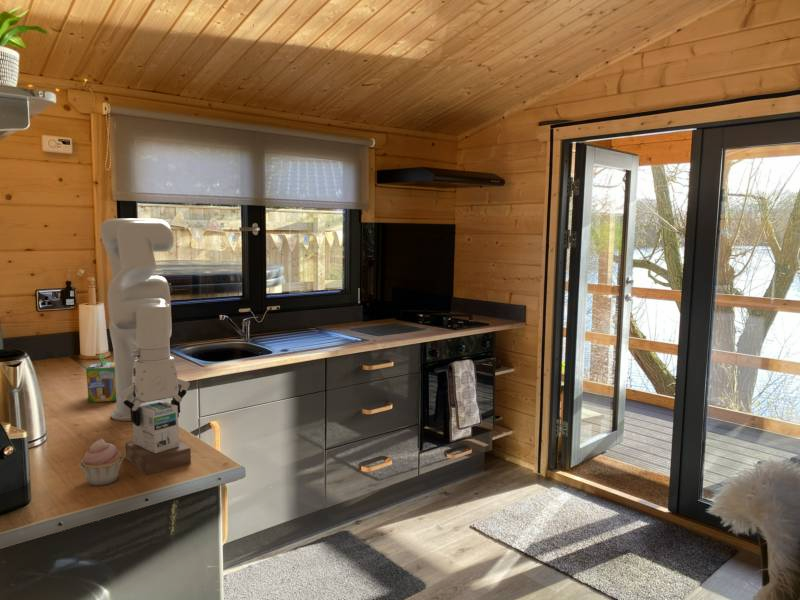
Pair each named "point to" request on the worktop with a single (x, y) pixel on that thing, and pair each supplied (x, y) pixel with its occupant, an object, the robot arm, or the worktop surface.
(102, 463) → the cupcake
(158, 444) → the light bulb box
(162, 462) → the walnut base block
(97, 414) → the worktop surface
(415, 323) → the worktop surface
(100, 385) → the chalk box
